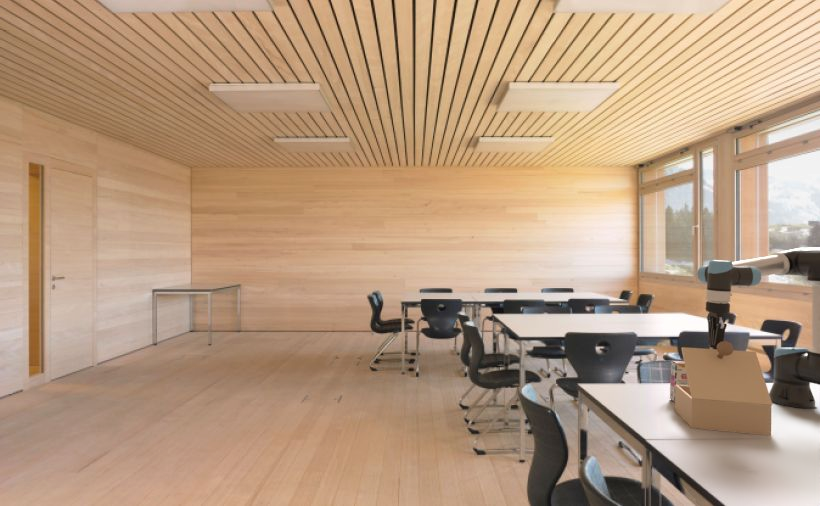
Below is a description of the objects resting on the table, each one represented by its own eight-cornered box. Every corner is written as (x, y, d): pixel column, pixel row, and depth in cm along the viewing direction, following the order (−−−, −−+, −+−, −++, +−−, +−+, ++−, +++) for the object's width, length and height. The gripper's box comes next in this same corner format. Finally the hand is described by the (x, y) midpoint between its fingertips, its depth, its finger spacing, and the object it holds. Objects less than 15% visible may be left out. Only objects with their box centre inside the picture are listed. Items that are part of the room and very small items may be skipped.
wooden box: (745, 416, 180) (745, 390, 180) (771, 435, 160) (771, 405, 160) (674, 410, 185) (675, 384, 186) (691, 427, 166) (691, 399, 166)
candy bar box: (674, 403, 195) (675, 363, 195) (669, 399, 200) (670, 360, 200) (703, 404, 194) (704, 364, 194) (697, 401, 199) (698, 361, 199)
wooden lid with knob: (754, 352, 173) (764, 339, 166) (771, 405, 160) (782, 393, 153) (681, 348, 179) (687, 335, 172) (691, 398, 166) (698, 387, 159)
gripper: (736, 304, 170) (731, 370, 171) (723, 300, 182) (719, 361, 183) (712, 303, 172) (708, 367, 173) (701, 298, 184) (697, 359, 185)
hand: (713, 364), depth 178 cm, fingers closed
